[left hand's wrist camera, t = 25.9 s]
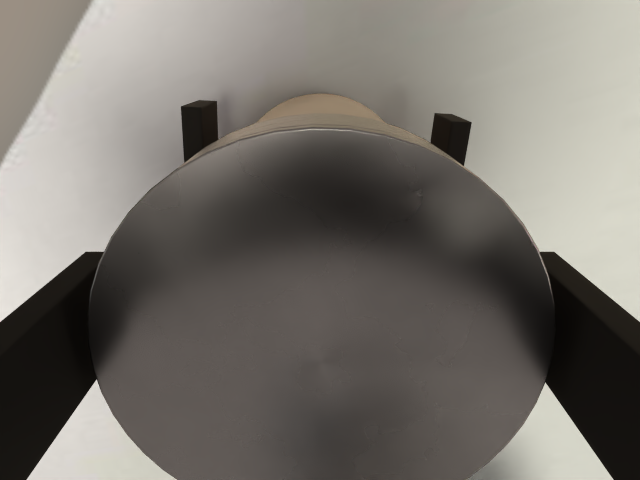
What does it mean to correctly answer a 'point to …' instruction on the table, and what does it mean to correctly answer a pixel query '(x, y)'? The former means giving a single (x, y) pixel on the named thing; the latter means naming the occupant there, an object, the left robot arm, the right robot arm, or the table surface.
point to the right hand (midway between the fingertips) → (326, 110)
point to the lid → (321, 310)
